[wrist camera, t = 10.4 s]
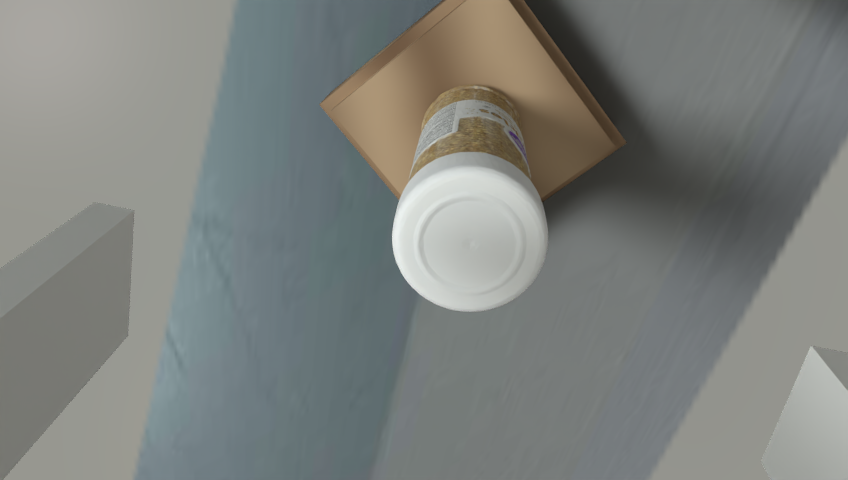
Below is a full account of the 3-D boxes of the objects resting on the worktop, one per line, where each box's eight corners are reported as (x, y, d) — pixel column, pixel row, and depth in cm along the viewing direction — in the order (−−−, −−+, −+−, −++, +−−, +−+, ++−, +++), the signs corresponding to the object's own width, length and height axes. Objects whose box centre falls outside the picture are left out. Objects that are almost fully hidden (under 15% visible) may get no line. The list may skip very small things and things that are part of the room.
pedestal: (493, -42, 36) (495, -40, 32) (615, 127, 38) (630, 148, 34) (330, 92, 38) (315, 109, 35) (454, 242, 41) (452, 273, 37)
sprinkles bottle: (543, 134, 34) (584, 250, 22) (467, 201, 36) (465, 345, 23) (472, 58, 33) (473, 135, 21) (398, 130, 35) (357, 241, 22)
